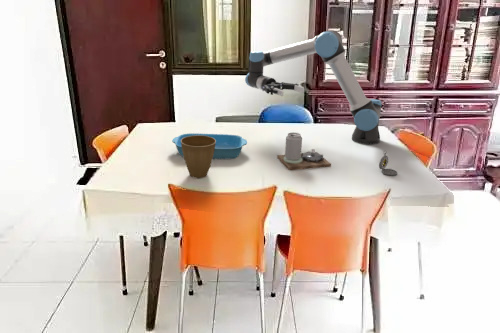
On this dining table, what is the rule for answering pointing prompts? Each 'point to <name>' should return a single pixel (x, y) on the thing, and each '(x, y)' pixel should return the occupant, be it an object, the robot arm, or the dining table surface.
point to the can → (293, 146)
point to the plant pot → (198, 154)
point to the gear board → (304, 164)
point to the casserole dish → (218, 145)
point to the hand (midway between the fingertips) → (293, 91)
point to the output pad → (292, 160)
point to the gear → (312, 156)
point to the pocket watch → (384, 162)
